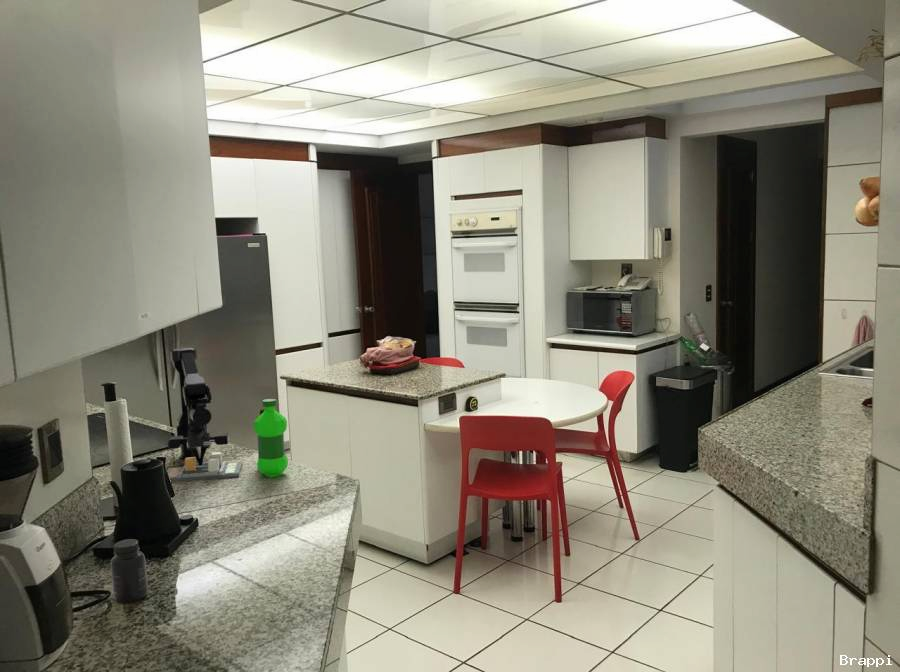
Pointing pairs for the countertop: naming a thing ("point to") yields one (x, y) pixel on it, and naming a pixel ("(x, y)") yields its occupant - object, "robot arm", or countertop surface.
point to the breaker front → (213, 465)
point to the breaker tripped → (190, 463)
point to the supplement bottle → (128, 572)
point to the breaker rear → (217, 456)
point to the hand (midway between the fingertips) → (200, 465)
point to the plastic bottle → (271, 440)
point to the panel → (204, 472)
